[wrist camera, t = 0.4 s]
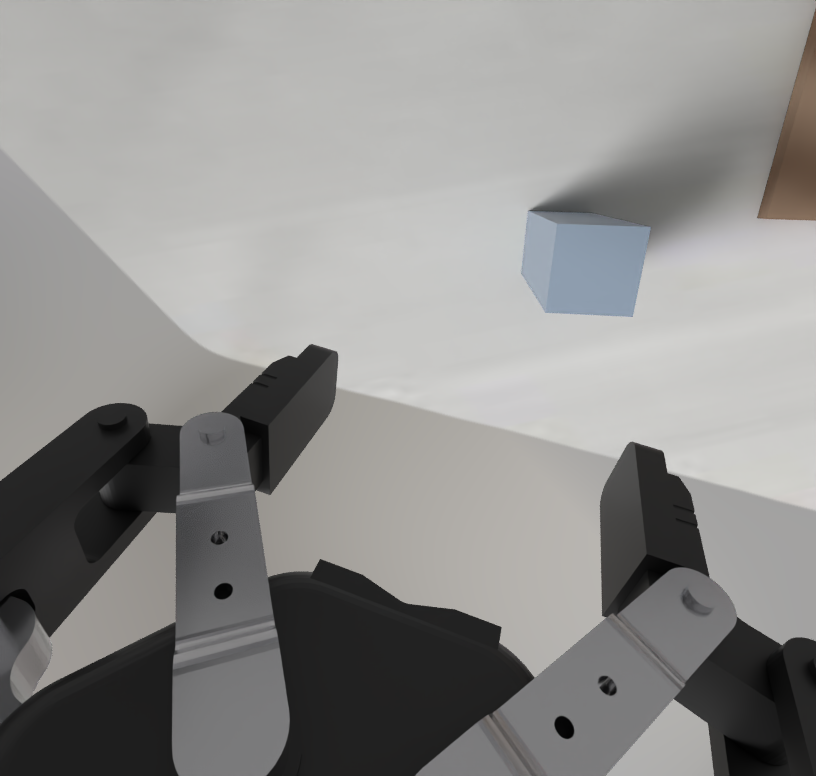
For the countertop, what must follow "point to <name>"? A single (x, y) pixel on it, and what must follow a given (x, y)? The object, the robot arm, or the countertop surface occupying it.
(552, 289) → the plug
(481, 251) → the countertop surface
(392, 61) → the countertop surface
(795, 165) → the socket board
